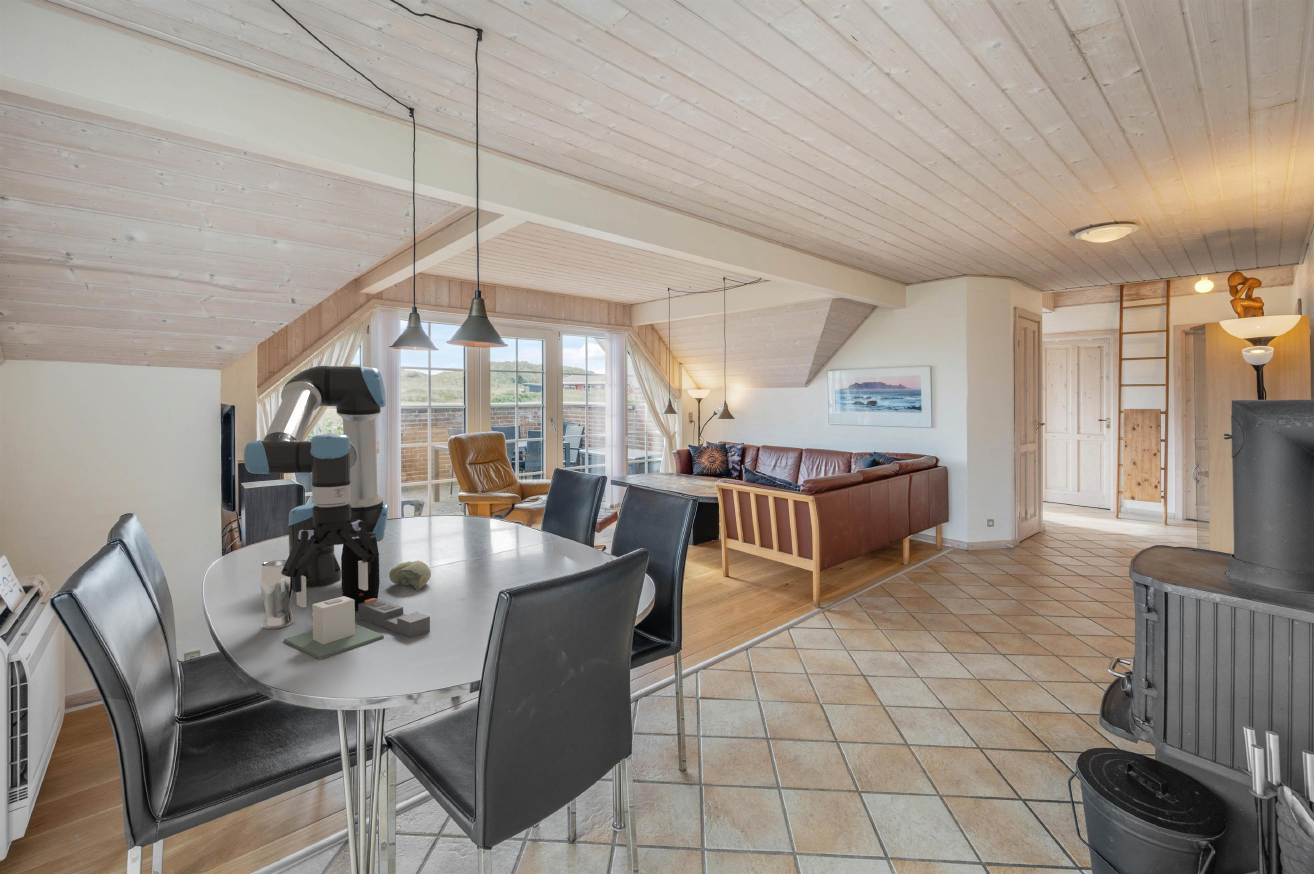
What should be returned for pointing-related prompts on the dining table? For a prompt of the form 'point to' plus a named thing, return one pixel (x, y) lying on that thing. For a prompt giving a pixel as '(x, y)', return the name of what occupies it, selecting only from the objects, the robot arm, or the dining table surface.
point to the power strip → (393, 617)
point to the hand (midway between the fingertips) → (333, 597)
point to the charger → (333, 619)
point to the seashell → (411, 574)
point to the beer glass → (276, 595)
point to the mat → (334, 647)
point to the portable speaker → (351, 573)
